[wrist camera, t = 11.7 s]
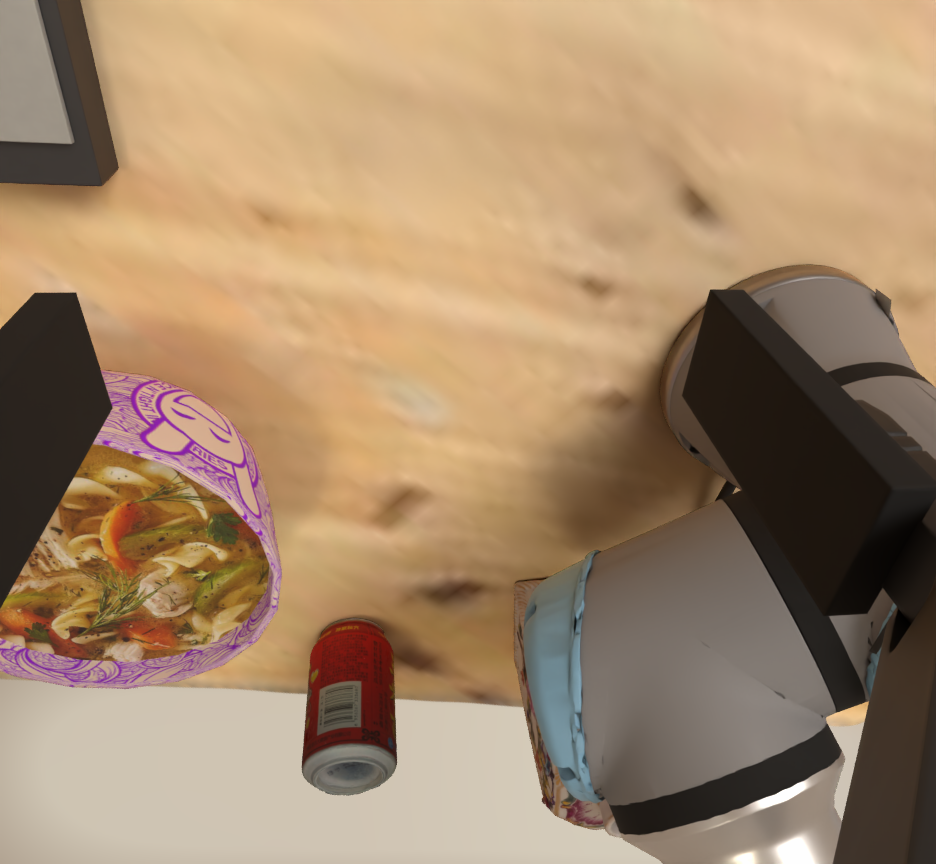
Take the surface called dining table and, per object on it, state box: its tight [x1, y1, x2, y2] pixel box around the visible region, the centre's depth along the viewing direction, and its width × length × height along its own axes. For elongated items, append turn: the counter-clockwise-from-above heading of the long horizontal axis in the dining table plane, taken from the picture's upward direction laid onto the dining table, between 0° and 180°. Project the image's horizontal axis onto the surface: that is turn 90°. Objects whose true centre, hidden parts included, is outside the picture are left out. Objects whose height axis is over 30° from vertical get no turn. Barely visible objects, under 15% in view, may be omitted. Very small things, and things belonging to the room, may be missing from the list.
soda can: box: [302, 618, 397, 795], centre depth 55 cm, size 7×7×12 cm
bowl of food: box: [0, 370, 282, 689], centre depth 41 cm, size 20×20×12 cm
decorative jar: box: [514, 580, 622, 838], centre depth 55 cm, size 12×12×18 cm
